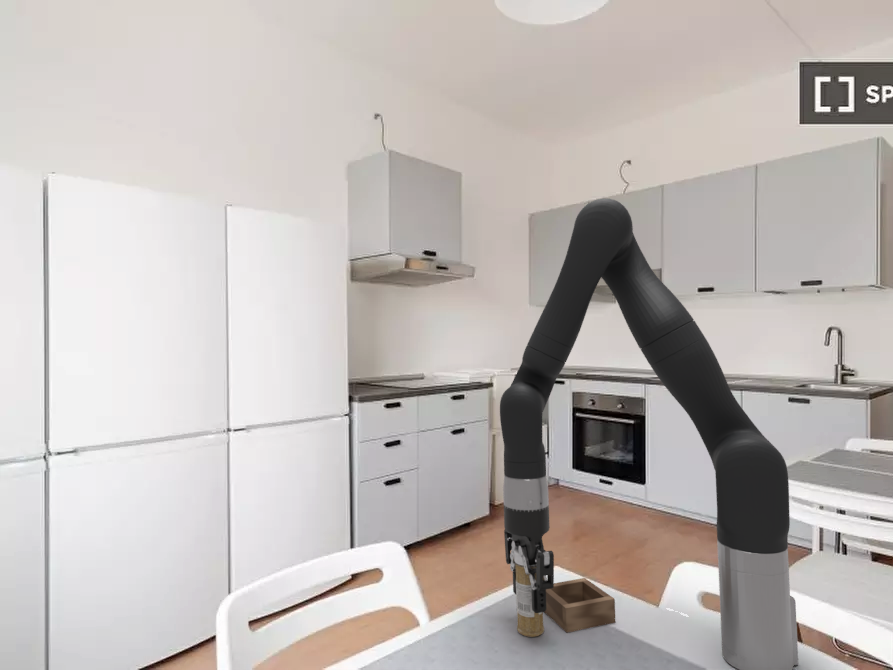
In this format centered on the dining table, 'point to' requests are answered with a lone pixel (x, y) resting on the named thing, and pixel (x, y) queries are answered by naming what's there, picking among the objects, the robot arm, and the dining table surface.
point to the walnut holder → (579, 605)
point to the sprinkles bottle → (526, 602)
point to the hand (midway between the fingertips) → (529, 601)
